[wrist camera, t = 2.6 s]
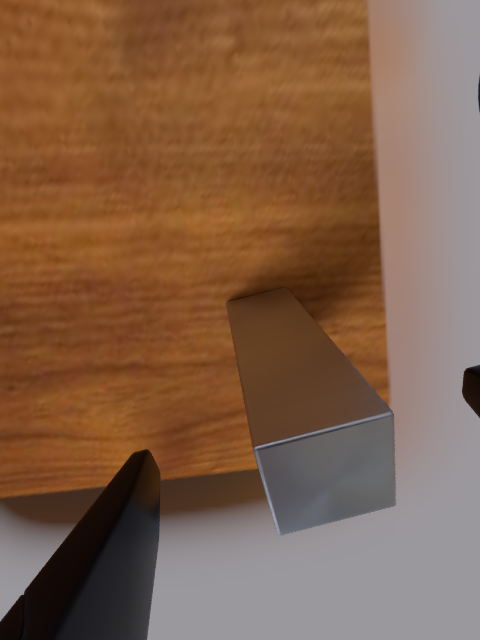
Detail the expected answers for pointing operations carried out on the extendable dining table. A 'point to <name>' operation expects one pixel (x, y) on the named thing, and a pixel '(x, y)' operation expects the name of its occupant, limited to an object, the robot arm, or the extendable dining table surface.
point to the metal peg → (309, 417)
